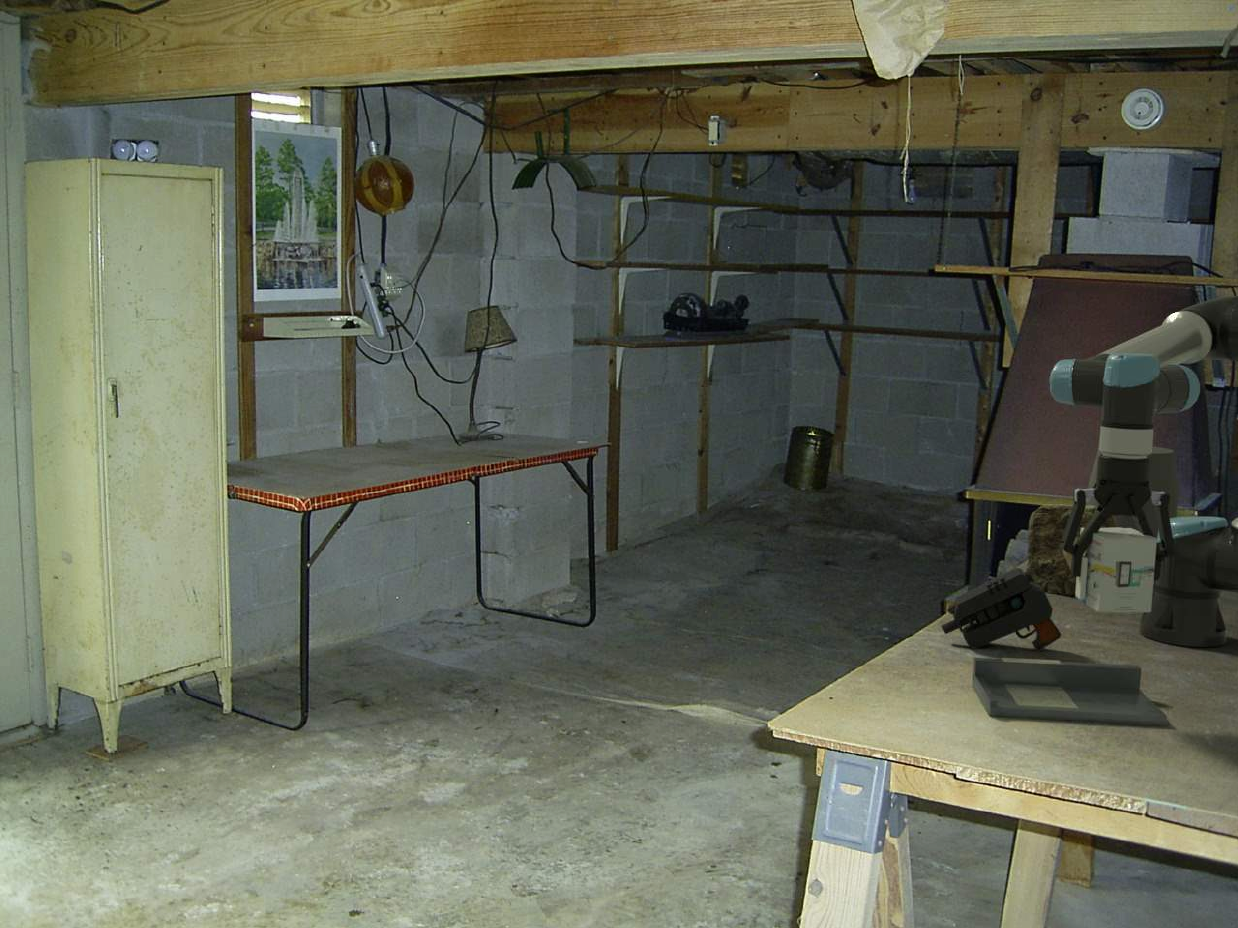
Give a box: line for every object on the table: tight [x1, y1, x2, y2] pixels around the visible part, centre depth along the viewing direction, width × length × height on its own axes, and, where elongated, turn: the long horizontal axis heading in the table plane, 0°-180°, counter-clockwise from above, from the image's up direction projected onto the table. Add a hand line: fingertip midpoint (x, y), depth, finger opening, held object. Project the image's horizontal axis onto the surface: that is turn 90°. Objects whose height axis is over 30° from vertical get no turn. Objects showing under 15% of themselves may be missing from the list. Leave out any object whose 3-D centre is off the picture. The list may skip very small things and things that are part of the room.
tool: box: [940, 567, 1062, 653], centre depth 222 cm, size 6×19×15 cm
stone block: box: [1025, 503, 1116, 598], centre depth 264 cm, size 18×9×20 cm, turn 68°
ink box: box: [1074, 527, 1157, 613], centre depth 188 cm, size 8×8×12 cm
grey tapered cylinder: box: [1086, 445, 1180, 539], centre depth 289 cm, size 20×20×30 cm
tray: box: [971, 657, 1168, 727], centre depth 191 cm, size 26×14×5 cm, turn 85°
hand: (1112, 598), depth 188 cm, fingers closed on ink box, 9 cm apart
